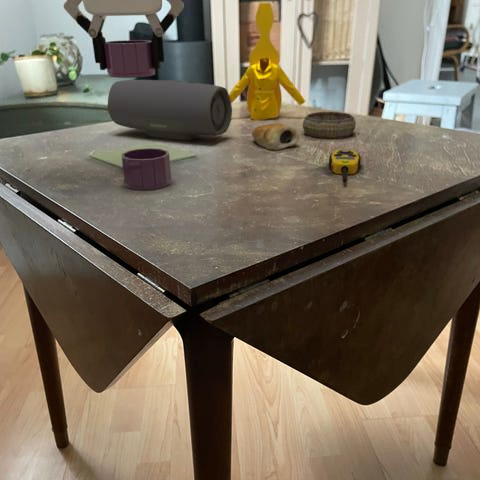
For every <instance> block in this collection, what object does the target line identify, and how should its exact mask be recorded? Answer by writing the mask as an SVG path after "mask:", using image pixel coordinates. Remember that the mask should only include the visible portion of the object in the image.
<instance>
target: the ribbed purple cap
mask: <svg viewBox="0 0 480 480" xmlns="http://www.w3.org/2000/svg"><path fill="white" fill-rule="evenodd" d="M121 156H122V164H123V170H122V171H123V179H124V180H123V181H124V186H125V187H126V188H128V189H130V190H134V191H154V190H159V189H164V188H166V187H168V186H170V185H171V184H172V171H171V169H172V168H171V162H170V157H169V152H168V151H166V150H163V149H155V148H145V149H135V150H130V151H127V152H125V153H123V154H121Z"/></svg>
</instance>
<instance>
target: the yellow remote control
mask: <svg viewBox="0 0 480 480" xmlns="http://www.w3.org/2000/svg"><path fill="white" fill-rule="evenodd" d="M361 162H362V158H361V155H360V153H358V152H357V151H356V150H353V149H337V150H334V151H333V152H331V153H330V154H329V157H328V168H329V170H331V171H332V172H333V173H335V174H336V175H342V183H347V181H348V175H354V174H356V173H357V172H358V171H359V170H360V168H361Z"/></svg>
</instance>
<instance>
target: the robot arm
mask: <svg viewBox="0 0 480 480" xmlns="http://www.w3.org/2000/svg"><path fill="white" fill-rule="evenodd" d="M166 1H167V3H169V5H170V9H169V10H168V12H167V13H166V14H165V16H164V17H163V18H162V20H160V19H159V16H158V14H157V13H159V12H160V11H161V10H162V7H163V0H66V1H65V2H64V3H63V9H64V10H65V11H66V12H67V14H69V16H70V17H71V18H72V19H73V20H74V21H75V22H76V24H77V25H78V26H79V27H81V29H83V31H84V32H86V34H87V35H88V36H89V37H90V38H91V41H92V48H93V54H94V62H95V64H99V70H100V71H106V70H107V65H106V57H105V49H104V42H107V41H106V37H104V34H103V28H104V25H105V21H106V18H107V17H116V16H117V17H121V16H122V17H123V16H127V17H128V16H129V17H130V16H145V19H146V20H147V22H148V24H149V26H150V27H151V29H152V37H151V38H150V41H151V43H152V54H153V66H154V68H155V70H159V69H160V68H161V63H165V50H164V48H165V47H164V35H165V34H166V32H167V31H168V30H169V28H170V27H171V26H172V24H173V23H174V22H175V20H176V19H177V18H178V16H179V15H180V13H181V12H182V11H183V10H184V7H185V3H184V2H183V1H182V0H166ZM81 3H82V4H83V7H84V10H85V12H87V13H88V14H90V15H92V18H91V20H90V19H89V17H87V16H86V15H85V14H84V13H83V12H82V11H81V10H80V7H79V6H80V4H81Z"/></svg>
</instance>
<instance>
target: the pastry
mask: <svg viewBox="0 0 480 480" xmlns="http://www.w3.org/2000/svg"><path fill="white" fill-rule="evenodd" d="M251 136H252V138H253V139H254V141H255V143H256V144H257V145H259V146H260V147H263V148H265V149H267V150H274V151H279V150H284V149H286V148H289V147H293V146H295V145H296V144H297V143H298V142H299V140H300V134H299V132H298V130H297V129H296V128H295V126H289V125H287V124H283V123H280V122H277V123H268V124H262V125H258V126H257V127H255V128H254V129H253V130H252V132H251Z"/></svg>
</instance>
